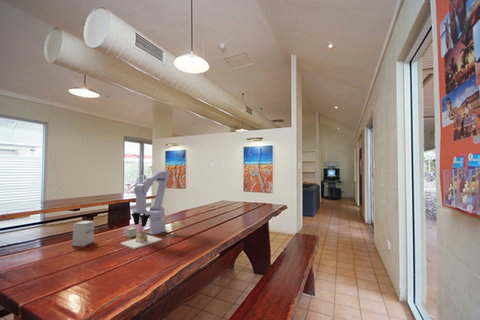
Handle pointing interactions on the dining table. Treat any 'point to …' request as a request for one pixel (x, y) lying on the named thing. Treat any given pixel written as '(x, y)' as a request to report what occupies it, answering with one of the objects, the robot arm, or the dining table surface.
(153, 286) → the dining table surface
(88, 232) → the supplement box
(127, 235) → the sage block
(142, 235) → the maple block
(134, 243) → the white flat slab
